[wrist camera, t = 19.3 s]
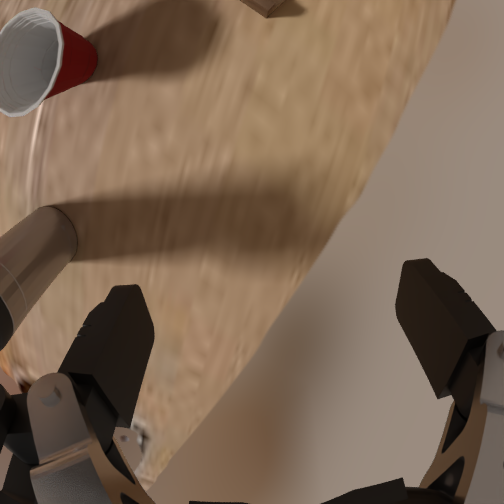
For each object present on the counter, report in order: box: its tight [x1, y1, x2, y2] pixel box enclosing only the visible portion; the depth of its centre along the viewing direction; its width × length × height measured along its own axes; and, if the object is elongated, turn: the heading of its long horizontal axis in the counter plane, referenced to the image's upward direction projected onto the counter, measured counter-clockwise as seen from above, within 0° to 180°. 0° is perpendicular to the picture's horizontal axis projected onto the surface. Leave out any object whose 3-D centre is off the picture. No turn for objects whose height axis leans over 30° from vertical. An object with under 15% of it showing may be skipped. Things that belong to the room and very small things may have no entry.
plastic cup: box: [0, 8, 98, 117], centre depth 22 cm, size 11×11×12 cm
